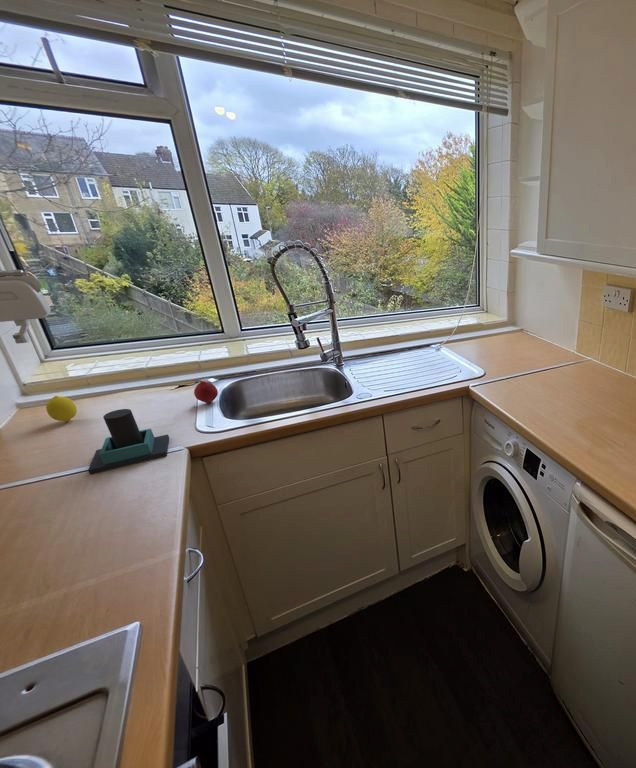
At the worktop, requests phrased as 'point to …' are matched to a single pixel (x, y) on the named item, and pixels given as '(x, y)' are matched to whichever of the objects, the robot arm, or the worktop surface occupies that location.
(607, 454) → the worktop surface
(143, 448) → the base pad
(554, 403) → the worktop surface
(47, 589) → the worktop surface
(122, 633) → the worktop surface
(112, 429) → the pad post
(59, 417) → the lemon
